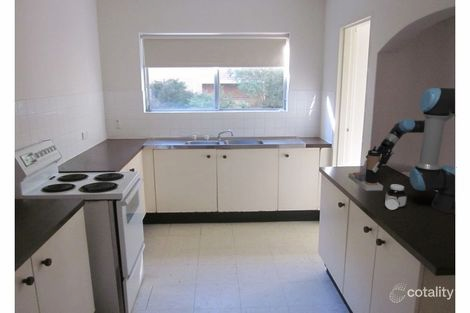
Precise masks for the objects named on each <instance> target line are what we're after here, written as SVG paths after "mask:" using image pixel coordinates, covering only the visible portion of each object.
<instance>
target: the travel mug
mask: <svg viewBox="0 0 470 313" xmlns="http://www.w3.org/2000/svg"><path fill="white" fill-rule="evenodd" d="M367 155H368V156H367ZM367 155H366V156H367V158H366V160H367V166H366V169H365V174H366V180H365V181H366V182H368V183H377V182H378V179H379V172H380V168H378V169H377V171H376V172H373V170H372V169H373V168H374V167H375V165H376V164H377V163H378V162H379V161H380V159H381V156H382V154H381V152H378V151H377V150H373V149H369V150H367Z"/></svg>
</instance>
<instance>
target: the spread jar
mask: <svg viewBox="0 0 470 313" xmlns="http://www.w3.org/2000/svg"><path fill="white" fill-rule="evenodd" d="M384 198H385V201H384V205H385V207H386V208H387V209H388V210H391V211H392V210H397V209H402V208H403V207H405V206H406V204H407V198H408V197H407V192H406V191H405V186H403V185H401V184H396V183H395V184H394V183H392V184H391V185H390V186H389V188H388V189H387V190H386V193H385V197H384Z"/></svg>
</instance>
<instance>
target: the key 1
mask: <svg viewBox="0 0 470 313" xmlns="http://www.w3.org/2000/svg"><path fill="white" fill-rule="evenodd" d="M363 173H364V172H353V175H355V176H356V177H359V174H363Z"/></svg>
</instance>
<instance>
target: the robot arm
mask: <svg viewBox="0 0 470 313" xmlns="http://www.w3.org/2000/svg"><path fill="white" fill-rule="evenodd" d="M455 88H456V87H455ZM455 88H454V87H452V88H451V87H450V88H449V87H432V88H428V89H426V90H425V91H424V92H423V93H422V95H421V97H420V100H419V108H420V110H421V111H422V112H423V113H422V115H423V116H424V117H425V119H424V120H417V119H414V120H413V119H412V118H405V119H403V120H399V121H397V122H396V123H395V124H394V126H393V127H392V129H391V130H390V131H389V132H388V133H387V135H386V136H385V138H384V139H383V140H382V141H381V143H380V145H379V146H376V145H374V146H373V148H372V150H377V151H378V152H381V155H380V161H379V162H378V163H377V164H376V165H375V167H374V168H373V169H372V170H373V172H376V171H377V169H378V168H379V169H380V168H381V167H382V166H383V165H387V163H388V162H389V160H390V158H391V156H392V155H393V154H394V152H393V149H394V147H395V146H396V145H397V143H398V142H399V141H400V139H401V138H402V137H403V135H404V136H405V135H406V134H407V133H408V134H413V133H414V134H415V133H416V134H419V133H420V134H423V135H422V141H421V148H420V154H419V155H420V156H419V161H418V162H417V163H415V166H414V168H411V169H410V170H409V174H408V175H409V181H410V184H411V186H412V188H413V189H415V190H417V191H432V192H433V191H435V192H436V191H437V193H436V195H435V196H434V197H433V198H434V199H433V200H432V201H431V207H432V208H433V209H434V210H436V211H438V212H441V213H447V214H451V213H452V214H455V166H451V165H441V166H440V165H439V164H438V163H439V158H440V153H441V145H442V142H443V141H442V140H443V134H444V127H445V123H446V122H447V121H449V120H451V119H452V118H454V117H455V116H456V115H455ZM367 156H368V154H367V155H366V156H365V158H366V160H365V161H364V164H363V165H362V166H361V167H362V169H364V170H366V166H367ZM455 215H456V214H455Z"/></svg>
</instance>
